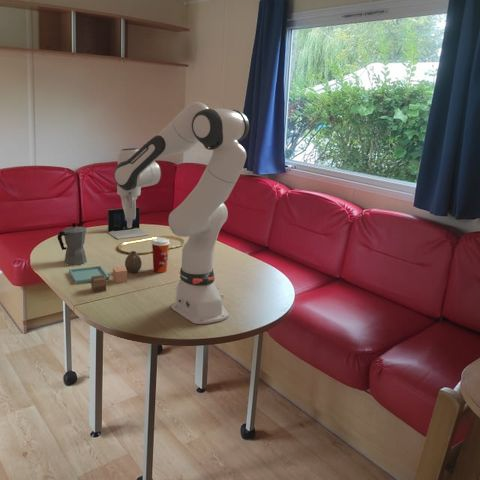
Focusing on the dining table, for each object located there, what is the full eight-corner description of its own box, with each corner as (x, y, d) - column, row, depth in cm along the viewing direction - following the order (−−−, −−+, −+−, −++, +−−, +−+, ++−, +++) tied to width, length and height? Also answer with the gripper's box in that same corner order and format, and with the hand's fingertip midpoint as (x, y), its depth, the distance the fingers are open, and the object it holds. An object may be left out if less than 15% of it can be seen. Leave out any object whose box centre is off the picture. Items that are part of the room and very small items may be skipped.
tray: (108, 279, 195) (108, 276, 194) (75, 284, 189) (75, 280, 188) (100, 269, 206) (100, 265, 205) (69, 272, 199) (69, 269, 199)
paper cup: (165, 274, 204) (166, 243, 200) (148, 272, 206) (148, 241, 201) (171, 268, 212) (172, 238, 207) (155, 266, 213) (155, 236, 209)
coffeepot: (79, 256, 219) (78, 217, 213) (94, 260, 215) (93, 221, 209) (51, 265, 206) (49, 224, 201) (67, 270, 202) (65, 229, 196)
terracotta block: (127, 281, 195) (127, 270, 193) (116, 283, 192) (116, 271, 191) (123, 277, 198) (123, 266, 197) (113, 279, 196) (112, 267, 195)
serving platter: (110, 247, 235) (110, 244, 234) (170, 236, 258) (170, 233, 257) (130, 258, 222) (130, 255, 221) (191, 246, 245) (191, 243, 244)
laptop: (117, 240, 245) (116, 215, 241) (107, 233, 255) (107, 209, 251) (149, 235, 256) (149, 212, 252) (139, 229, 265) (139, 206, 261)
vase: (144, 269, 208) (144, 250, 205) (136, 275, 202) (136, 255, 199) (129, 267, 210) (129, 248, 207) (122, 272, 203) (121, 253, 201)
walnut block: (106, 291, 185) (106, 279, 183) (94, 292, 183) (94, 280, 181) (103, 286, 188) (103, 274, 187) (91, 288, 186) (91, 276, 185)
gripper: (140, 196, 178) (139, 232, 182) (134, 184, 196) (133, 216, 200) (122, 196, 176) (122, 232, 180) (118, 183, 194) (118, 216, 198)
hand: (128, 223), depth 190 cm, fingers open, 8 cm apart
